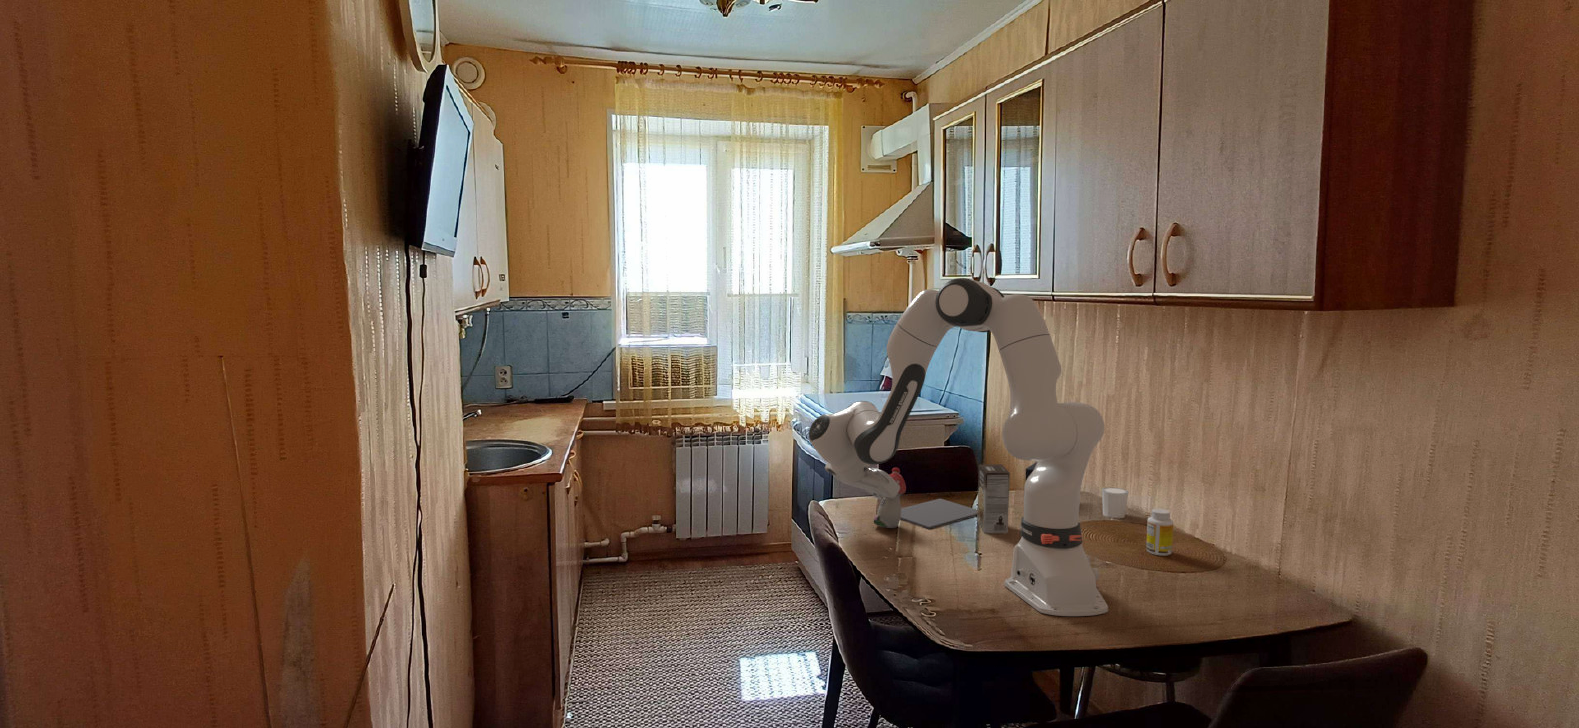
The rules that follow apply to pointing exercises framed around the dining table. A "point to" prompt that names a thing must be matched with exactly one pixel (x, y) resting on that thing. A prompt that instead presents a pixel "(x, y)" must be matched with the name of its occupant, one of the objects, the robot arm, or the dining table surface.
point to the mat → (936, 513)
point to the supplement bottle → (1159, 533)
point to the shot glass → (1114, 502)
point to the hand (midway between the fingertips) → (880, 496)
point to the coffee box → (993, 498)
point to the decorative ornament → (891, 505)
